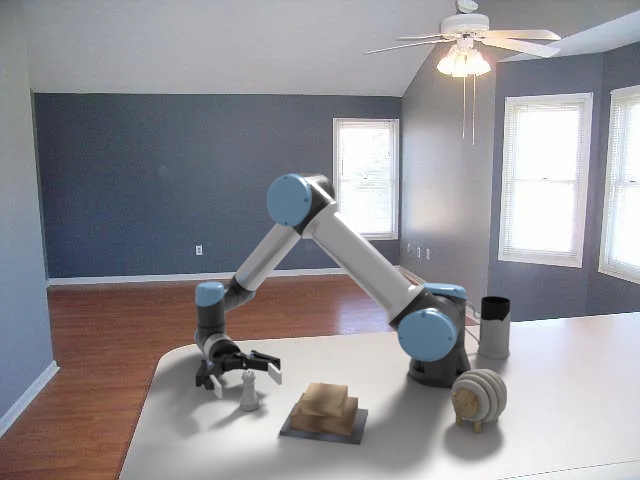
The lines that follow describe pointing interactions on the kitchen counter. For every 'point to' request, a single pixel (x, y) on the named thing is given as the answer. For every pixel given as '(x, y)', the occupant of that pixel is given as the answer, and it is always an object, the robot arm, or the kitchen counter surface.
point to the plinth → (326, 415)
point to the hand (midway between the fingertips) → (251, 385)
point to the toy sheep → (478, 397)
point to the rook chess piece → (249, 392)
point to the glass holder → (493, 327)
